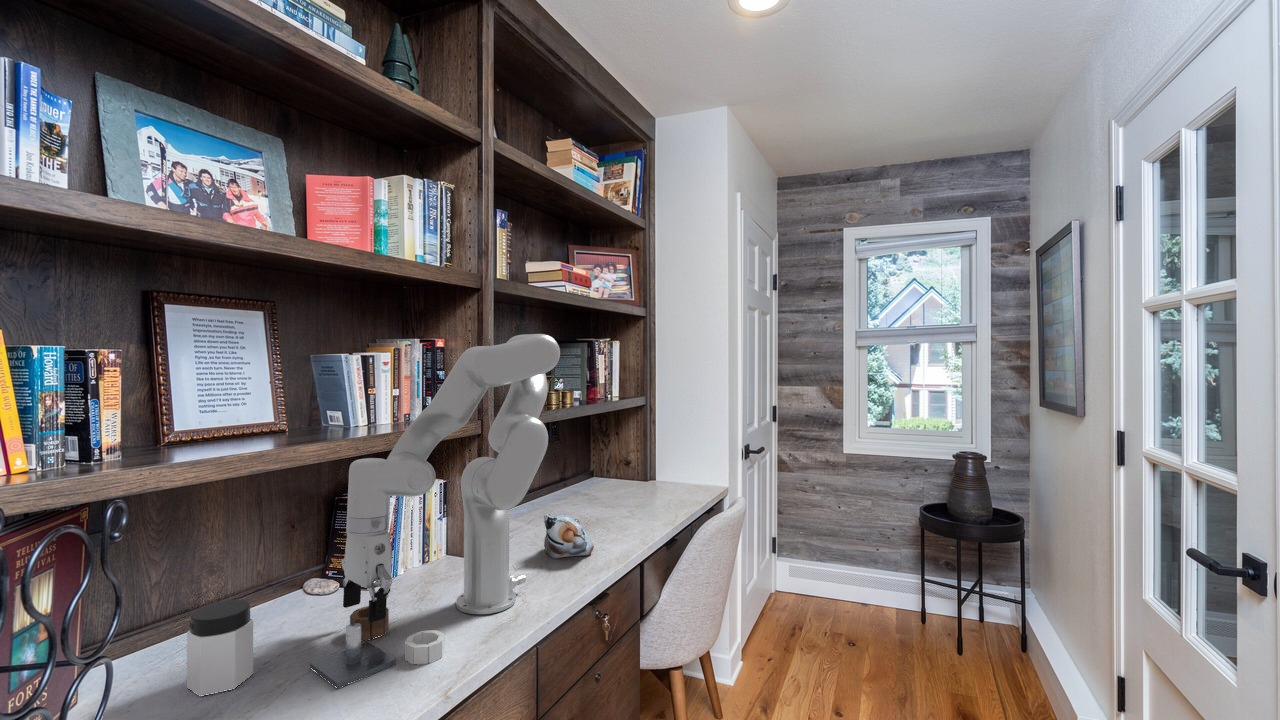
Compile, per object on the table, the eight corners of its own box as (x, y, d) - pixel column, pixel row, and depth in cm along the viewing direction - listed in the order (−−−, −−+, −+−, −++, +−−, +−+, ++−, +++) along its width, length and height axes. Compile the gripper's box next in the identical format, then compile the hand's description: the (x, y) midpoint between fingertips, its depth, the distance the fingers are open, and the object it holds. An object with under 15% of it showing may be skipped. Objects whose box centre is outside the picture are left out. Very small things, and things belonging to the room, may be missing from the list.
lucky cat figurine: (603, 551, 164) (601, 514, 157) (573, 579, 156) (569, 541, 149) (564, 527, 172) (560, 490, 166) (533, 552, 164) (528, 515, 157)
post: (367, 646, 110) (367, 608, 110) (395, 664, 104) (396, 624, 104) (310, 668, 102) (310, 628, 102) (337, 689, 96) (337, 646, 96)
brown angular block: (376, 622, 120) (377, 602, 120) (393, 631, 116) (393, 611, 116) (344, 634, 115) (344, 613, 115) (361, 644, 111) (361, 622, 111)
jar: (215, 667, 103) (215, 598, 102) (262, 668, 102) (262, 598, 102) (174, 697, 94) (174, 621, 93) (226, 698, 94) (226, 621, 93)
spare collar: (430, 643, 112) (430, 627, 112) (451, 653, 108) (451, 637, 108) (398, 656, 107) (399, 639, 107) (418, 668, 103) (418, 650, 103)
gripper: (410, 528, 113) (406, 619, 113) (364, 512, 124) (361, 595, 123) (371, 536, 107) (367, 632, 107) (327, 518, 118) (323, 605, 117)
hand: (364, 612), depth 115 cm, fingers open, 9 cm apart
